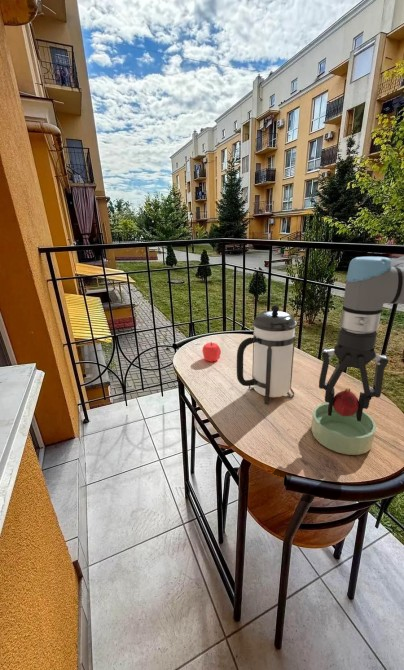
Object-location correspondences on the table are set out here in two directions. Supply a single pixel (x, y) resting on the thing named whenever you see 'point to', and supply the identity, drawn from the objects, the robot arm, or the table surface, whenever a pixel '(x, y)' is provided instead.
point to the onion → (345, 403)
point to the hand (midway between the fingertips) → (343, 415)
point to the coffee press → (270, 354)
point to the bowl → (343, 431)
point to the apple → (211, 352)
